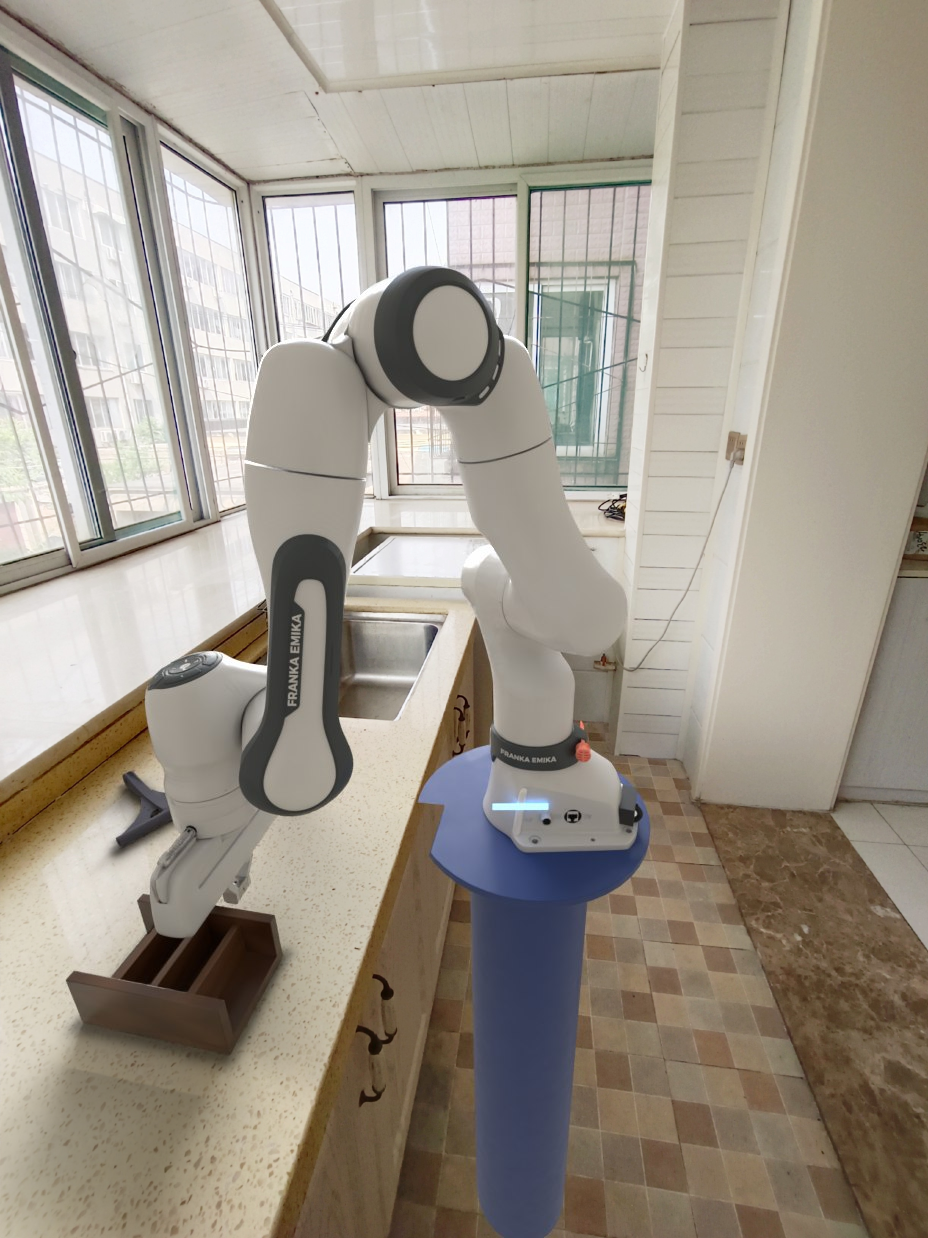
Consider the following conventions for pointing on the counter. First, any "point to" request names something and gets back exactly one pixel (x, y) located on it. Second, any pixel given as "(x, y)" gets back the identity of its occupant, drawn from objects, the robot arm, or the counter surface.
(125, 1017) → the rack
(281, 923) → the counter surface
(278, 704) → the robot arm
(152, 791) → the bracket
